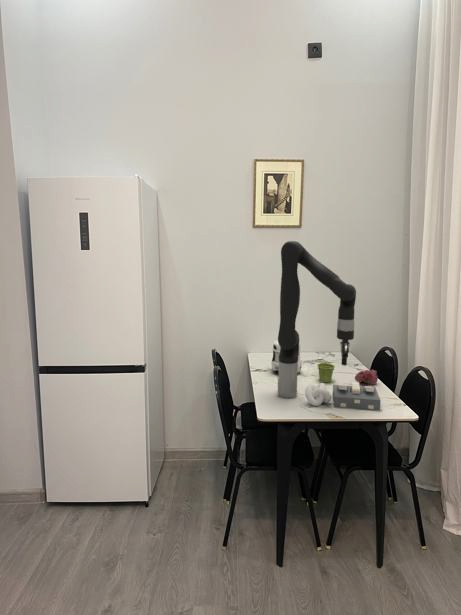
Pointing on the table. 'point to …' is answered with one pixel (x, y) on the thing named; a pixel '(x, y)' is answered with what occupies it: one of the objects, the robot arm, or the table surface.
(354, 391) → the rocker
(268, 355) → the table surface
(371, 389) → the rocker
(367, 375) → the flower
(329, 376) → the plant pot
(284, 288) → the robot arm
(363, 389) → the switch unit
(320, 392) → the white knot sculpture
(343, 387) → the rocker
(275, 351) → the milk container
